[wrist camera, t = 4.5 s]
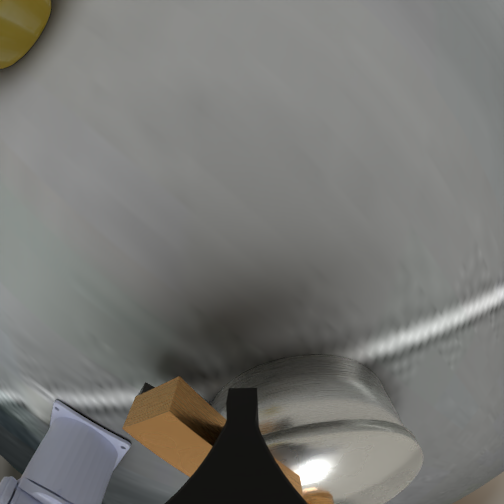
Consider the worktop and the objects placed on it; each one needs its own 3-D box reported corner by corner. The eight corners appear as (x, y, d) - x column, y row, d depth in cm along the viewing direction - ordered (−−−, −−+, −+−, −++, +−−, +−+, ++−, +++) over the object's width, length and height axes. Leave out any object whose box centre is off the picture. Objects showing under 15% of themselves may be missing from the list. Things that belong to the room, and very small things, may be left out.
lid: (429, 469, 15) (442, 495, 12) (270, 530, 17) (272, 556, 14) (326, 273, 10) (354, 316, 7) (73, 410, 12) (52, 448, 9)
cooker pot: (432, 397, 20) (462, 442, 14) (330, 480, 23) (340, 524, 17) (202, 277, 16) (180, 336, 11) (124, 411, 20) (100, 466, 14)
